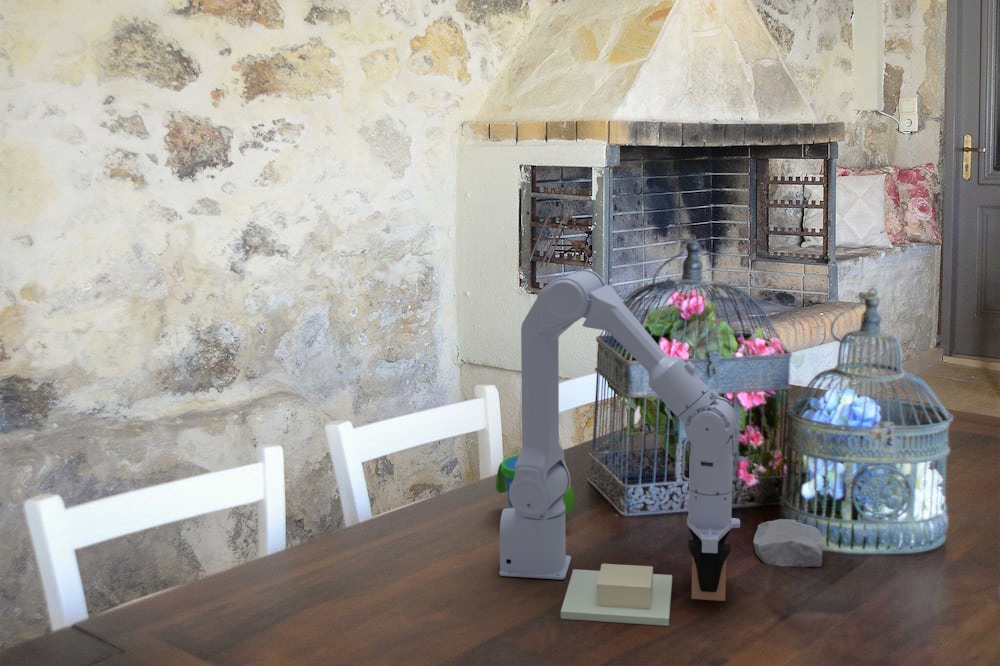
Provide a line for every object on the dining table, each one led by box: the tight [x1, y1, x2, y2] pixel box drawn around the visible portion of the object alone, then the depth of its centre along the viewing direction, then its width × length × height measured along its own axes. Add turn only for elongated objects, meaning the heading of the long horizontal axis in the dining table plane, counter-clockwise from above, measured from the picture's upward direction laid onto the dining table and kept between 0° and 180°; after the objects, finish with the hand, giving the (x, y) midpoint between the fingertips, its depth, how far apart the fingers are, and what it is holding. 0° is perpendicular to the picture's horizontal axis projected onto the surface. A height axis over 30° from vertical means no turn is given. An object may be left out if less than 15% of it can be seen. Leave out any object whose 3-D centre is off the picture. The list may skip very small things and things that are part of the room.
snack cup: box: [495, 454, 575, 514], centre depth 176 cm, size 16×10×10 cm
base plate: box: [560, 563, 673, 627], centre depth 147 cm, size 14×14×4 cm
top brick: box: [691, 555, 727, 602], centre depth 149 cm, size 4×4×5 cm
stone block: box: [753, 518, 824, 568], centre depth 163 cm, size 12×5×10 cm
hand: (708, 583), depth 149 cm, fingers closed on top brick, 4 cm apart
